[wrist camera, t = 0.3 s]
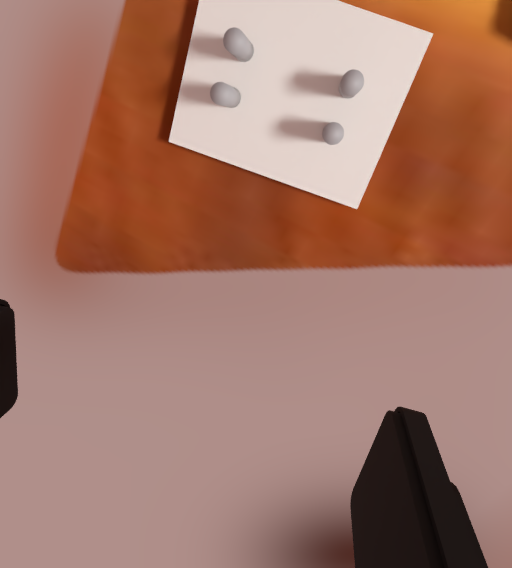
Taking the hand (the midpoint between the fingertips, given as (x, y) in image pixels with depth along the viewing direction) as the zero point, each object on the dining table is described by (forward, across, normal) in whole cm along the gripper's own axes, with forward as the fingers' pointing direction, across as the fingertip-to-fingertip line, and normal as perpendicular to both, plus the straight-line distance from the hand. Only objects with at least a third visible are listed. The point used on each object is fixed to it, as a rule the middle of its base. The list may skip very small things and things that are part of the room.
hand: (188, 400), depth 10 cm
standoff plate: (+30, +2, -9) cm, 31 cm away
